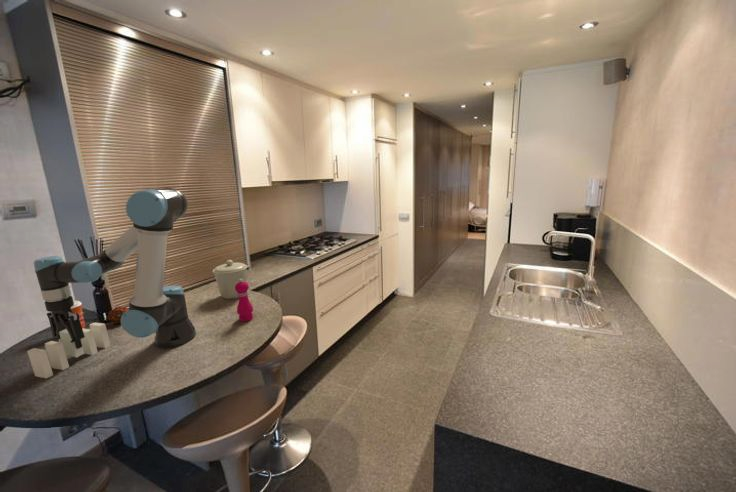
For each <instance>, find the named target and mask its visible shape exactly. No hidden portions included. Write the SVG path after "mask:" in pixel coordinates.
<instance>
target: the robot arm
mask: <svg viewBox="0 0 736 492" xmlns="http://www.w3.org/2000/svg"><path fill="white" fill-rule="evenodd" d="M188 207H189V203H188V199H187V197H186V195H185V194H184V193H183V192H182V191H180V190H178V189H177V188H172V187H164V188H163V187H162V188H151V189H150V188H147V189H143V190H139V191H136V192H135V193H133V194H132V195H130V197H128V199H127V202H126V204H125V211H126V215H127V217H129V220H130V222H132V225H131V227H129V228H128V229H127V230H126V231H124V233H122V234H121V235H120V236H118V238H116V239H115V240H114V241H113V242H111V243H110V245H108V246H107V247H106V248H105V249H104V250H103V251H101V252H100V253H99V254H96V255H94V256H91V257H87V258H84V259H81V260H77V261H68V262H67V261H64V260H63V257H62V256H60V255H59V256H58V255H52V256H45V257H40V258H38V259H35V260H34V261H33V266H34V273H35V274H36V277H37V281H38V285H39V288H40V293H41V296H42V300H43V301H44V307H45V310H46V311H47V313H46V316H47V318H48V320H49V321H48V322H49V325H50V329H51V334H52V337H53V338H56V339H57V340H58V342H61V343H62V341H61V338H60V335H59V332H60V331H62V330H65V329H67V331H68V333H69V335H70V337H71V339H72V341H70V342H71V344H72V348H73V352H74V355H75V357H74V358H79V357H81V356H83V355H85V354H84V351H83V347H82V343H81V339H82V338H84V337H85V336H84V333H83V330H82V326H81V323H80V320H79V314H78V313H77V314H73V312H72V310H71V307H72V306H73V305H74V302H73V301H74V297H73V296H72V291H71V286H70V284H71V283H72V284H73V283H75V284H76V283H78V284H79V283H80V284H81V283H82V284H84V283H85V284H86V283H90V282H96V281H98V280H99V278H100V277H101V276H102V275H103V274H106V273H108V272H111V271H115V270H117V269H119V268H120V267H122V266H123V265H124V263H125V261H126V260H127V259H128V258H130V256H131V255H132V254H134V253H135V252H136V266H135V282H134V285H135V286H134V287H135V288H134V294H133V295H132V296H130V297H129V299H128V309H129V310H128V311H126V312H125V313H124V314H123V315H122V317H121V323H120V325H121V327H122V329H123V330H124V331H125V332H126V333H127V334H128V335H130V336H131V337H134V338H147V337H149V336H151V335H153V334H154V333H155V336H154V339H153V340H154V344H155V346H156V347H158V348H161V349H163V348H164V349H165V348H167V349H168V348H174V347H177V346H181V345H184V344H187V342H189V341H191V340H193V338H195V337H196V335H197V332H196V331H197V330H196V327H195V326H194V325H193V323H192V321H191V320H190V318H189V314H188V307H187V302H186V297H185V295H186V294H185V291H184V289H183V287H182V286H180V285H167V286H165V285H164V283H165V269H166V260H167V259H166V258H167V246H168V235H169V233H171V232H172V231H173V230H174V224H175V222H176V221H178V220H179V219H180V218H182V217H183V216H184V215H185V214H186V213H187V211H188ZM68 321H69V322H68ZM66 322H67V323H66Z"/></svg>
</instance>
